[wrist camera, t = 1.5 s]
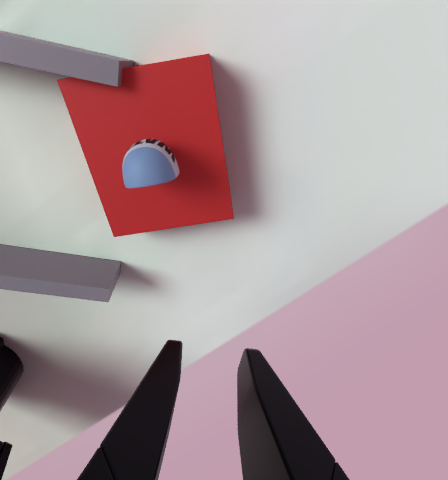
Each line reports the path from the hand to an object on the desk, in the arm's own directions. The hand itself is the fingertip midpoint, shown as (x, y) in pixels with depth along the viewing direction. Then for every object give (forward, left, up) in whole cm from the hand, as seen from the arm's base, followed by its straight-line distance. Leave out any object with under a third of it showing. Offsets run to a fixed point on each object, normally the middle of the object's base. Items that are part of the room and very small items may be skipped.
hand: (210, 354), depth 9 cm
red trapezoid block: (+3, +3, -13) cm, 13 cm away
